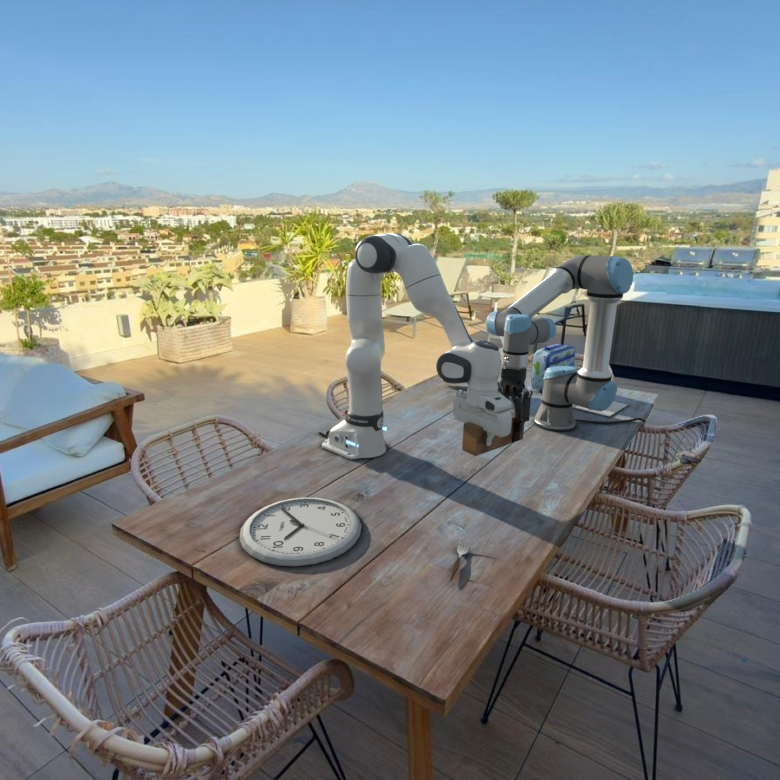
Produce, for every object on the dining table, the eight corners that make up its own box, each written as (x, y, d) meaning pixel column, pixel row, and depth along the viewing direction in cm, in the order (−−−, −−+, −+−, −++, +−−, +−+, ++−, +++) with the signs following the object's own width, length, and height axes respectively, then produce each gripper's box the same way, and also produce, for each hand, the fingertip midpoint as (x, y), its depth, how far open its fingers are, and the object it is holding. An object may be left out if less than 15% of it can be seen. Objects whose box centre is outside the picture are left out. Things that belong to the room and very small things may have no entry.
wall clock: (363, 557, 118) (227, 562, 115) (363, 563, 118) (227, 568, 115) (359, 492, 146) (250, 495, 143) (359, 498, 147) (250, 500, 144)
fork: (443, 582, 112) (444, 574, 112) (460, 542, 127) (460, 535, 126) (455, 584, 112) (456, 576, 111) (471, 544, 126) (471, 537, 125)
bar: (509, 433, 169) (511, 409, 166) (522, 439, 165) (525, 413, 162) (461, 450, 156) (463, 423, 153) (475, 456, 152) (477, 429, 149)
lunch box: (547, 396, 238) (552, 351, 232) (526, 391, 246) (531, 347, 239) (574, 385, 256) (579, 343, 250) (554, 380, 263) (559, 340, 257)
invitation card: (608, 416, 214) (573, 407, 224) (608, 416, 214) (573, 408, 224) (628, 404, 229) (594, 396, 238) (628, 405, 229) (594, 397, 238)
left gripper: (449, 390, 157) (446, 432, 161) (501, 408, 142) (497, 455, 146) (463, 386, 161) (461, 428, 165) (516, 404, 146) (512, 449, 150)
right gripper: (482, 361, 162) (477, 431, 169) (531, 375, 148) (524, 450, 155) (498, 358, 166) (493, 426, 173) (547, 371, 152) (539, 444, 159)
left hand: (478, 441), depth 155 cm, fingers closed on bar, 5 cm apart
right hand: (507, 437), depth 164 cm, fingers closed on bar, 5 cm apart
